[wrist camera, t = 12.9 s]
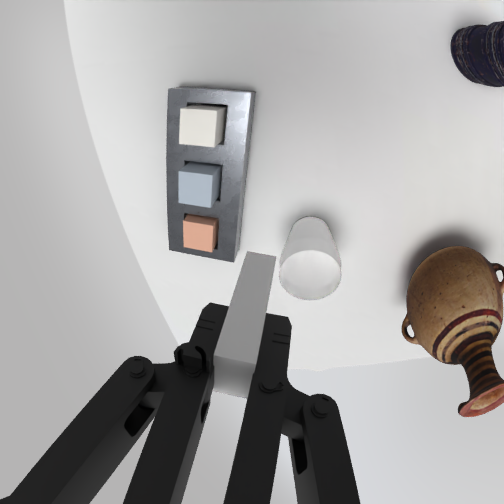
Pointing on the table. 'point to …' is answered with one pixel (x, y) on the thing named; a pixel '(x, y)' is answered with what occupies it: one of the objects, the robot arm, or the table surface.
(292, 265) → the cup
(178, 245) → the panel
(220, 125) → the ivory key
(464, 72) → the storage jar
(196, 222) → the terracotta key
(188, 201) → the slate key
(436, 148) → the table surface
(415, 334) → the vase
